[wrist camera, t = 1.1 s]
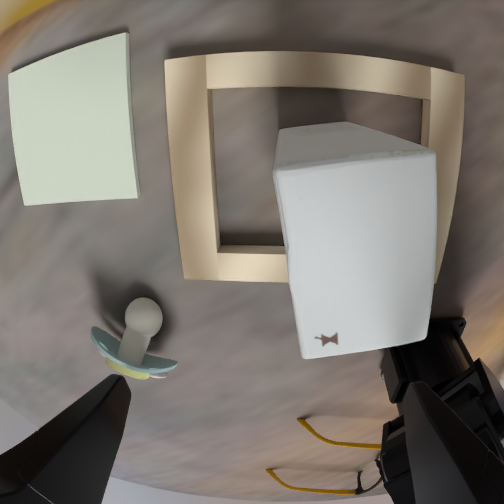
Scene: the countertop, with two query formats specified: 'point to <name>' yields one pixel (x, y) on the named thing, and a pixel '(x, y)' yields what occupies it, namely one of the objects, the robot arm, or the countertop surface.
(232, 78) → the wooden frame
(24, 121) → the sage mat
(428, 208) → the skincare box
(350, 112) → the countertop surface
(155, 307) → the pacifier
